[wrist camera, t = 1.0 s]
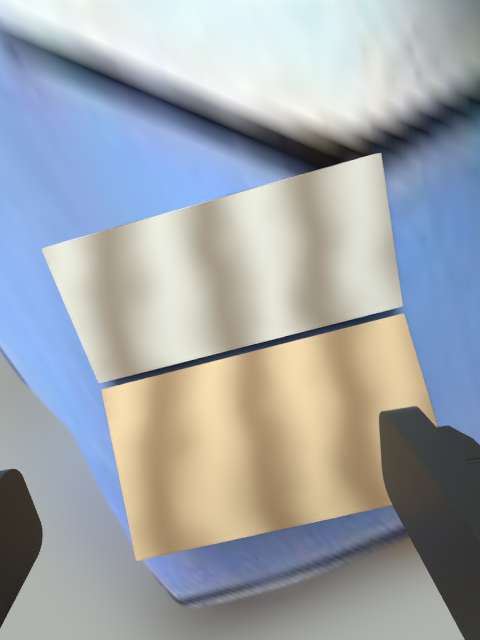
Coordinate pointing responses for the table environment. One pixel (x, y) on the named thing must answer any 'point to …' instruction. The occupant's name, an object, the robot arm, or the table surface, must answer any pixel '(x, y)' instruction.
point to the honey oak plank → (261, 437)
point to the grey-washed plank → (232, 270)
